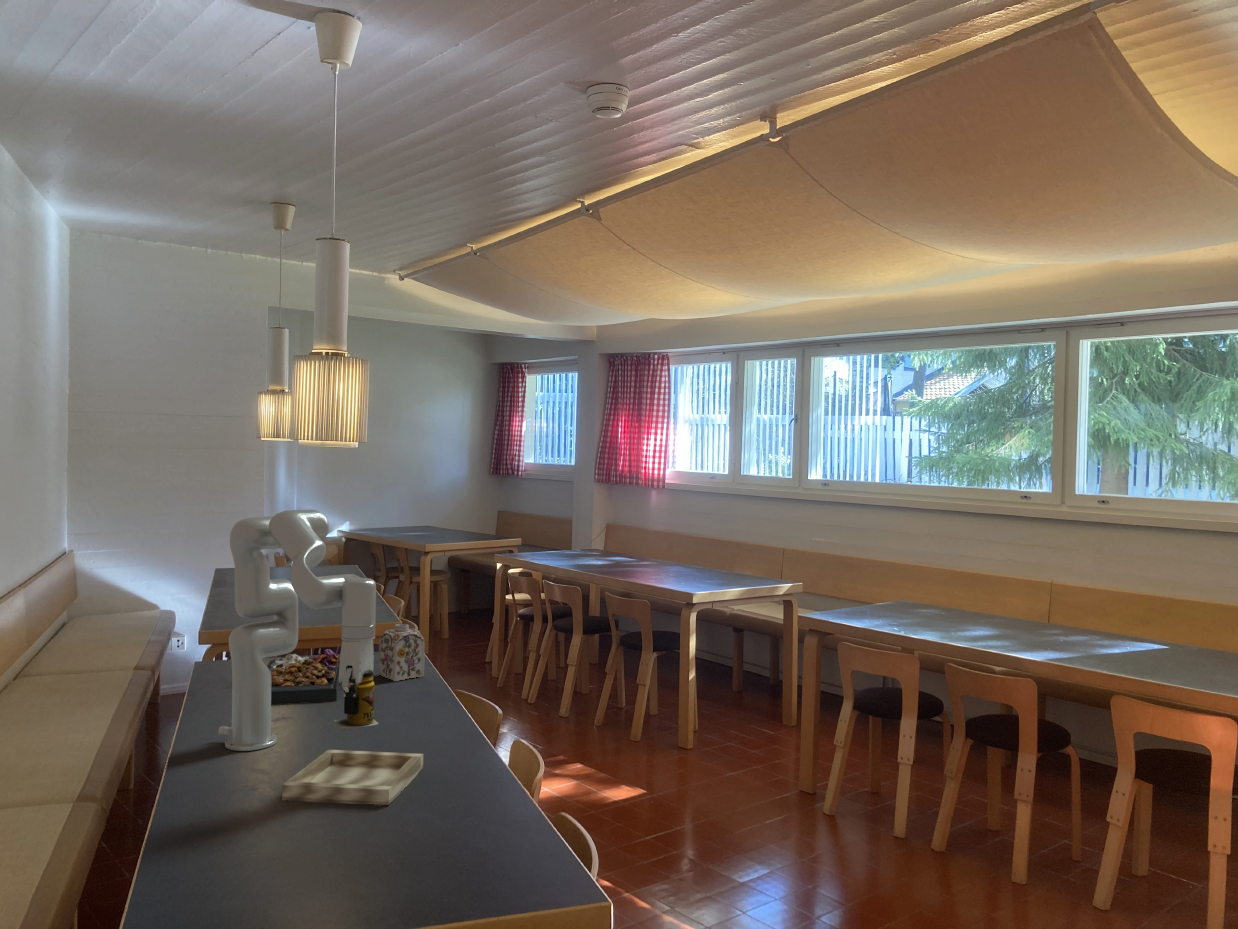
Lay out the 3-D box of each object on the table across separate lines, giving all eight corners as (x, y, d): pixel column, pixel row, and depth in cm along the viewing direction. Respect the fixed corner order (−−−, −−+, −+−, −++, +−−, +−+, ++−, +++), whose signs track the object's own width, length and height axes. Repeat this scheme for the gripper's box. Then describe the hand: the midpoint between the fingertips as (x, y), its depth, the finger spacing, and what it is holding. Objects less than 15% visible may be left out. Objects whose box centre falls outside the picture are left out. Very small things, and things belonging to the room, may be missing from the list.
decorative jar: (377, 676, 308) (378, 624, 308) (407, 671, 316) (408, 620, 316) (394, 682, 300) (395, 629, 300) (425, 677, 308) (425, 625, 308)
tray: (282, 800, 194) (282, 784, 194) (327, 763, 218) (328, 749, 218) (388, 805, 192) (388, 789, 192) (423, 768, 216) (423, 754, 216)
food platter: (269, 673, 312) (269, 644, 312) (342, 670, 319) (342, 641, 319) (251, 707, 269) (252, 673, 269) (336, 703, 275) (336, 669, 275)
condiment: (379, 724, 204) (380, 672, 204) (342, 730, 200) (343, 677, 199) (369, 716, 210) (370, 666, 210) (333, 721, 206) (334, 670, 206)
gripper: (357, 624, 214) (355, 699, 214) (327, 638, 197) (325, 719, 197) (387, 625, 214) (386, 700, 214) (360, 640, 196) (358, 721, 196)
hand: (357, 709), depth 205 cm, fingers closed on condiment, 6 cm apart
